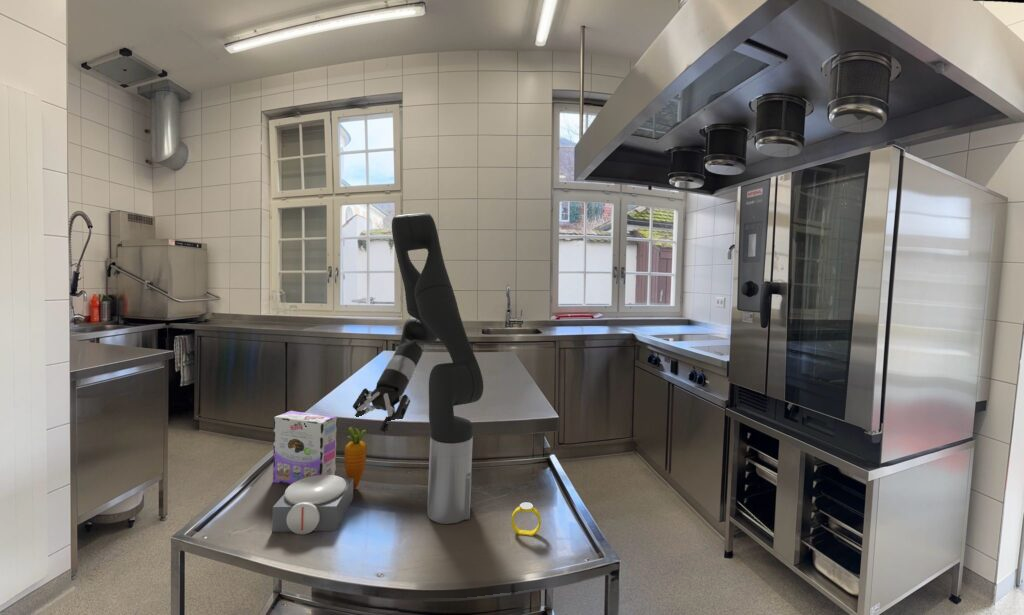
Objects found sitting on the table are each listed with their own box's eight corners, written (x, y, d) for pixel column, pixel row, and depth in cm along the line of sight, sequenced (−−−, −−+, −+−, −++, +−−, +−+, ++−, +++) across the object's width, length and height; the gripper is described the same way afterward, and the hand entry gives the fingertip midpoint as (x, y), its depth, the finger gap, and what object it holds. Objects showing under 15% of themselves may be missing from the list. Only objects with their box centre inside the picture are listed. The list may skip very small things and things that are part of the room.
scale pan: (352, 478, 92) (352, 474, 92) (335, 505, 80) (335, 501, 80) (298, 478, 91) (298, 474, 91) (274, 506, 79) (274, 502, 79)
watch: (511, 537, 82) (510, 508, 81) (512, 529, 84) (511, 501, 84) (540, 538, 81) (540, 509, 81) (541, 530, 84) (540, 502, 84)
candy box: (336, 480, 101) (338, 415, 100) (320, 491, 95) (322, 422, 95) (289, 472, 104) (291, 409, 103) (271, 482, 98) (272, 416, 98)
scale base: (352, 499, 92) (353, 473, 92) (333, 534, 79) (334, 504, 79) (297, 499, 91) (298, 473, 91) (269, 535, 78) (269, 505, 78)
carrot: (369, 486, 99) (371, 426, 98) (354, 495, 94) (356, 432, 93) (354, 481, 101) (356, 422, 100) (338, 490, 96) (340, 428, 95)
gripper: (369, 364, 111) (337, 418, 100) (414, 370, 106) (385, 427, 96) (381, 380, 116) (351, 432, 106) (424, 386, 111) (398, 441, 101)
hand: (368, 429), depth 101 cm, fingers open, 8 cm apart
